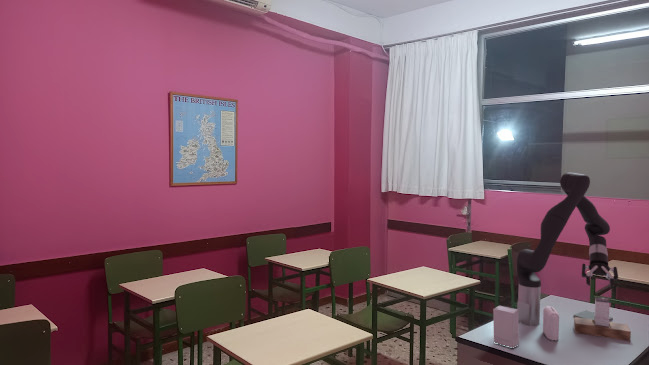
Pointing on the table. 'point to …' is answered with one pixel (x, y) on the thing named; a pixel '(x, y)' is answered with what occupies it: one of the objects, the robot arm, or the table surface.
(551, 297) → the table surface
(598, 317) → the lever cap
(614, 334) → the body
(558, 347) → the table surface
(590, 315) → the rubber mat
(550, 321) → the photo printer
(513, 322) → the skincare box
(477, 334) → the table surface
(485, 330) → the table surface
